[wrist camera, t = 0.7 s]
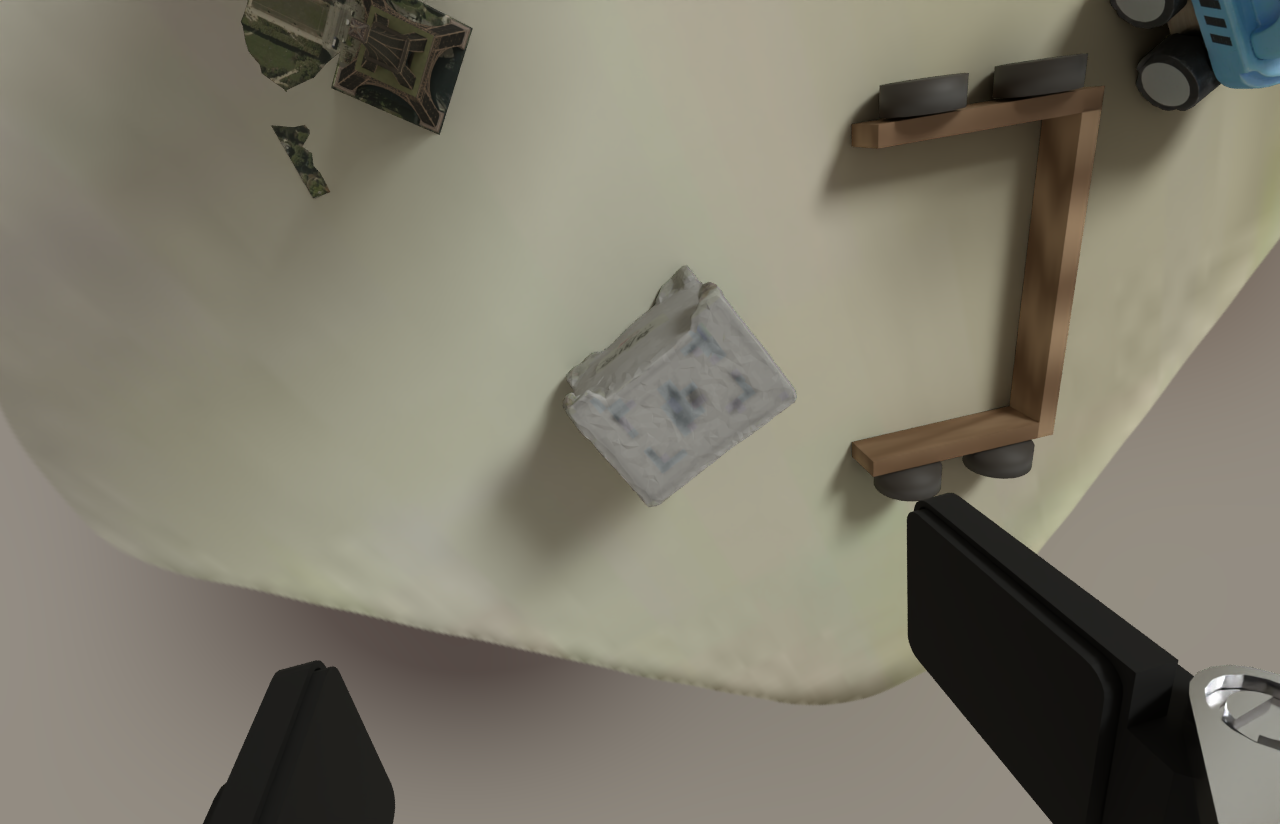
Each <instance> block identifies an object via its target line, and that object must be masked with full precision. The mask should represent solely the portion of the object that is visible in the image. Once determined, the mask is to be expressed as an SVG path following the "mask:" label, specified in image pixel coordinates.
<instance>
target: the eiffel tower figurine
mask: <svg viewBox="0 0 1280 824" xmlns="http://www.w3.org/2000/svg"><path fill="white" fill-rule="evenodd" d="M241 23H242V25H243V29H244V35H245V41H246V45H247V48H248V51H249V52H250V54H251V55H252V56H253V57H254V58H255V60H256V61H257V62H258V63H259V64H260V67H261V72H262V74H264V75H265V76H266V77H268V78H269V79H271V80H272V81H273V82H275V83H276V84H278V85H279V86H280V87H282V88H283V89H285V91H286V92H287V90H288V89H290V88H292V87H294V86H296V85H298V84H300V83H303V82H305V81H307V80H309V79H311V78H314V77H315V75H316V74H317V73H318V72H319V71H320V70H321V69H322V68H323V66H324V65H325V64H326V63H327V62H328V61H330V60H331V59H332V58H333V57H334V56H336V55H337V54H339V53H340V56H339V60H338V64H337V68H336V72H335V76H334V79H333V83H332V87H331V88H333V89H335V90H338V91H340V92H342V93H345V94H347V95H349V96H351V97H354V98H356V99H358V100H361V101H363V102H365V103H368V104H370V105H372V106H374V107H377V108H379V109H381V110H384V111H386V112H388V113H390V114H393V115H395V116H397V117H400V118H402V119H404V120H407V121H409V122H411V123H413V124H416V125H418V126H420V127H423V128H425V129H427V130H430V131H432V132H434V133H436V134H439V135H440V132H441V128H442V125H443V122H444V119H445V115H446V112H447V109H448V106H449V103H450V99H451V96H452V93H453V90H454V87H455V83H456V80H457V77H458V74H459V70H460V67H461V64H462V61H463V58H464V54H465V51H466V48H467V45H468V42H469V38H470V35H471V32H472V29H473V28H471V27H469V26H467V25H465V24H463V23H461V22H459V21H457V20H455V19H453V18H451V17H449V16H447V15H445V14H443V13H442V12H440V11H438V10H436V9H434V8H432V7H430V6H428V5H426V4H424V3H422V2H420V1H418V0H248V3H247V6H246V9H245V12H244V15H243V18H242V20H241ZM271 126H272V125H271ZM272 128H273V130H274V131H275V133H276V135H277V136H278V138H279V140H280V142H281V143H282V145H283V147H284V148H285V150H286V152H287V153H288V155H289V157H290V159H291V160H292V162H293V164H294V166H295V167H296V169H297V171H298V172H299V174H300V176H301V178H302V179H303V181H304V183H305V185H306V186H307V188H308V190H309V192H310V193H311V195H312V197H313V198H315V197H317V196H320V195H323V194H326V193H329V192H330V191H329V189H328V187H327V185H326V183H325V181H324V179H323V177H322V175H321V174H320V172H319V171H318V170H317V169H316V168H315V167H314V166H313V158H312V153H311V152H309V151H308V150H306V149H305V148H303V147H302V146H303V145H304V143H305V141H306V139H307V138H308V136H309V134H310V132H309V129H308V128H307V127H306V126H305V125H303V126H298V127H283V126H272Z"/></svg>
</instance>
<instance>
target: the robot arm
mask: <svg viewBox="0 0 1280 824" xmlns="http://www.w3.org/2000/svg"><path fill="white" fill-rule="evenodd" d="M907 596H908V640H909V643H910V646H911V649H912V651H913V653H914V655H915V656H916V658H917V659H918V660H919V662H920V663H921V664H922V665H923V666H924V668H925V669H926V670H927V671H928V672H929V674H930V675H931V676H932V677H933V679H935V681H936V682H937V683H938V685H939V686H940V687H941V688H942V690H943V691H944V692H945V693H946V694H947V696H948V697H949V698H950V699H951V700H952V702H953V703H954V704H955V705H956V707H957V708H958V709H959V710H960V711H961V713H962V714H963V715H964V716H965V717H966V719H967V720H968V721H969V722H970V724H971V725H972V726H973V727H974V728H975V729H976V731H977V732H978V733H979V734H980V735H981V737H982V738H983V739H984V741H985V742H986V743H987V744H988V745H989V746H990V748H991V749H992V750H993V751H994V752H995V754H996V755H997V756H998V757H999V759H1000V760H1001V761H1002V762H1003V764H1004V765H1005V766H1006V767H1007V768H1008V770H1009V771H1010V772H1011V773H1012V774H1013V776H1014V777H1015V778H1016V779H1017V780H1018V782H1019V783H1020V784H1021V785H1022V787H1023V788H1024V789H1025V790H1026V791H1027V793H1028V794H1029V795H1030V796H1031V798H1032V799H1033V800H1034V801H1035V802H1036V804H1037V805H1038V806H1039V807H1040V808H1041V810H1042V811H1043V812H1044V813H1045V814H1046V816H1047V817H1048V818H1049V819H1050V821H1051V822H1052V823H1053V824H1280V675H1279V674H1276V673H1272V672H1268V671H1265V670H1261V669H1257V668H1253V667H1245V666H1236V665H1224V666H1213V667H1209V668H1207V669H1204V670H1202V671H1200V672H1197V674H1196V675H1195V676H1193V675H1191V674H1190V673H1189V672H1188V671H1186V670H1185V669H1184V668H1182V667H1181V666H1180V665H1178V659H1176V658H1175V657H1174V656H1172V655H1171V654H1169V653H1168V652H1167V651H1165V650H1164V649H1163V648H1161V647H1160V646H1158V645H1157V644H1156V643H1155V642H1153V641H1152V640H1151V639H1149V638H1148V637H1147V636H1145V635H1144V634H1143V633H1141V632H1140V631H1139V630H1137V629H1136V628H1135V627H1133V626H1132V625H1131V624H1129V623H1128V622H1127V621H1125V620H1124V619H1123V618H1121V617H1120V616H1119V615H1117V614H1116V613H1115V612H1113V611H1112V610H1110V609H1109V608H1108V607H1107V606H1105V605H1104V604H1103V603H1101V602H1100V601H1099V600H1097V599H1096V598H1094V597H1093V596H1092V595H1090V594H1089V593H1088V592H1086V591H1085V590H1084V589H1082V588H1081V587H1080V586H1078V585H1077V584H1076V583H1074V582H1073V581H1072V580H1070V579H1069V578H1068V577H1066V576H1065V575H1063V574H1062V573H1061V572H1060V571H1058V570H1057V569H1055V568H1054V567H1053V566H1052V565H1050V564H1049V563H1048V562H1046V561H1045V560H1044V559H1042V558H1041V557H1039V556H1038V555H1037V554H1036V553H1034V552H1033V551H1032V550H1030V549H1029V548H1028V547H1026V546H1025V545H1024V544H1022V543H1021V542H1020V541H1018V540H1017V539H1016V538H1014V537H1013V536H1012V535H1010V534H1009V533H1007V532H1006V531H1005V530H1003V529H1002V528H1001V527H999V526H998V525H997V524H995V523H994V522H993V521H991V520H990V519H989V518H987V517H986V516H985V515H983V514H982V513H981V512H979V511H978V510H977V509H975V508H974V507H973V506H971V505H970V504H969V503H967V502H966V501H965V500H963V499H962V498H961V497H959V496H958V495H956V494H954V493H946V494H943V495H939V496H935V497H931V498H928V499H924V500H920V501H918V502H917V503H916V505H915V507H914V511H913V512H910V513H909V514H908V516H907ZM394 813H395V797H394V791H393V788H392V785H391V783H390V780H389V778H388V776H387V774H386V772H385V769H384V767H383V765H382V763H381V761H380V759H379V756H378V754H377V752H376V750H375V748H374V746H373V744H372V741H371V739H370V737H369V735H368V733H367V731H366V729H365V726H364V724H363V722H362V720H361V718H360V715H359V713H358V711H357V709H356V707H355V705H354V703H353V700H352V698H351V696H350V694H349V692H348V690H347V687H346V685H345V683H344V681H343V679H342V677H341V674H340V673H339V671H338V669H337V668H336V667H328V668H326V666H325V665H324V664H323V663H322V662H321V661H313V662H309V663H305V664H301V665H297V666H294V667H290V668H286V669H282V670H279V671H278V672H276V673H275V675H274V676H273V678H272V680H271V682H270V685H269V687H268V689H267V692H266V694H265V696H264V699H263V701H262V703H261V705H260V707H259V710H258V712H257V714H256V717H255V719H254V721H253V724H252V726H251V728H250V730H249V733H248V735H247V737H246V739H245V742H244V744H243V746H242V749H241V751H240V753H239V755H238V758H237V760H236V762H235V764H234V767H233V769H232V771H231V774H230V776H229V778H228V780H227V782H226V783H225V784H224V785H223V786H222V787H221V788H220V790H219V792H218V793H217V795H216V797H215V798H214V800H213V803H212V805H211V807H210V809H209V811H208V814H207V816H206V818H205V820H204V823H203V824H393V819H394Z"/></svg>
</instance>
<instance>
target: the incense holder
mask: <svg viewBox="0 0 1280 824" xmlns="http://www.w3.org/2000/svg"><path fill="white" fill-rule="evenodd" d="M566 377H567V381H568V382H569V384H570V386H571V387H572V389H573V391H574V393H569V394H567V395H566V397H565V399H564V400H563V408H564V409H565V411H566V413H567V415H568V416H569V418H570V419H571V420H572V421H573V423H574V424H575V425H576V427H577V428H578V429H579V431H580V432H581V433H582V435H583V436H584V437H585V438H587V439H589V440H590V441H591V442H592V444H593V445H594V446H595V447H596V448H597V450H598V451H599V453H600V454H601V455H602V456H603V457H604V458H605V459H606V460H607V461H608V462H609V463H610V464H611V465H612V466H613V467H614V468H615V469H616V470H617V471H618V472H619V474H620V475H621V476H622V477H623V478H624V480H625V481H626V482H627V483H628V484H629V485H630V486H631V488H632V489H633V490H634V491H636V493H637V494H638V495H639V497H640V498H641V499H642V501H643V502H644V503H645V504H646V505H647V506H648V507H652V506H657V505H659V504H661V503H662V502H664V501H665V500H666V499H668V498H669V497H670V496H671V495H672V494H673V493H675V492H676V491H677V490H679V489H680V488H681V487H683V486H684V485H685V484H687V483H688V482H689V481H690V480H691V479H693V478H694V477H695V476H697V475H698V474H699V473H700V472H702V471H703V470H704V469H705V468H706V467H708V466H709V465H711V464H712V463H714V462H715V461H716V460H717V459H718V458H719V457H721V456H722V455H723V454H724V453H726V452H727V451H728V450H730V449H731V448H732V447H734V446H735V445H737V444H738V443H740V442H741V441H743V440H744V439H746V438H747V437H749V436H750V435H751V434H753V433H754V432H755V431H757V430H758V429H760V428H761V427H762V426H764V425H765V424H766V423H768V422H769V421H770V420H771V419H772V418H773V417H775V416H776V415H778V414H779V413H781V412H782V411H783V410H785V409H786V408H787V407H789V406H790V405H791V404H793V403H794V402H795V400H796V398H797V395H796V390H795V389H794V387H793V386H792V384H791V383H790V381H789V380H788V379H787V377H786V376H785V375H784V373H783V372H782V371H781V369H780V368H779V367H778V365H777V364H776V363H775V362H774V360H773V359H772V357H771V356H770V354H769V353H768V352H767V350H766V349H765V348H764V347H763V345H762V344H761V343H760V342H759V340H758V339H757V338H756V337H755V335H754V334H753V333H752V332H751V331H750V329H749V328H748V326H747V325H746V323H745V322H744V321H743V320H742V319H741V318H740V316H739V315H738V314H737V313H736V311H735V310H734V308H733V307H732V306H731V305H730V303H729V302H728V301H727V299H726V298H725V297H724V295H723V292H722V290H721V289H720V288H719V287H718V286H717V285H716V284H714V283H711V282H708V283H705V284H702V282H699V280H698V279H697V278H696V276H695V275H694V273H693V272H692V270H691V269H690V268H689V267H688V266H682V267H681V268H680V269H679V270H678V271H677V272H676V273H675V274H674V275H673V277H672V278H671V279H670V280H669V281H667V282H666V283H665V284H664V285H663V286H662V287H661V290H660V292H659V294H658V297H657V299H656V304H655V305H654V306H653V307H652V308H651V309H649V310H648V311H647V312H646V313H645V314H644V315H642V316H641V317H640V318H638V319H637V320H636V321H635V322H634V323H633V324H632V325H630V326H629V327H628V328H627V329H626V330H625V331H624V332H623V333H622V334H621V335H620V336H619V337H618V338H617V339H616V341H615V342H614V343H613V344H612V345H611V346H610V347H608V348H607V349H604V351H603V352H595V353H591V354H590V355H589V356H588V357H586V358H585V360H584V361H583V362H582V363H581V364H580V365H577V366H575V367H573V368H572V369H571V370H570V371H569V373H568V374H567V375H566Z"/></svg>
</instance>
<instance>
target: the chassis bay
mask: <svg viewBox="0 0 1280 824" xmlns="http://www.w3.org/2000/svg"><path fill="white" fill-rule="evenodd" d="M1087 58H1088V54H1076V55H1067V56H1060V57H1052V58H1045V59H1038V60H1031V61H1024V62H1018V63H1011V64H1006V65H1000V66H996V67H995V72H994V84H993V96H992V98H1002V99H997V100H991V101H985V102H979V103H973V104H967V91H968V76H969V73H960V74H951V75H943V76H935V77H928V78H921V79H914V80H908V81H901V82H895V83H890V84H885V85H880V97H879V118H885V119H879V120H873V121H867V122H861V123H856V124H852V146H853V147H865V148H884V147H890V146H896V145H901V144H907V143H913V142H918V141H924V140H930V139H935V138H941V137H947V136H953V135H958V134H964V133H970V132H975V131H981V130H987V129H992V128H998V127H1004V126H1009V125H1015V124H1021V123H1027V122H1032V121H1038V120H1042V125H1041V134H1040V143H1039V152H1038V160H1037V169H1036V178H1035V187H1034V195H1033V204H1032V213H1031V222H1030V230H1029V239H1028V248H1027V257H1026V265H1025V274H1024V283H1023V292H1022V300H1021V309H1020V318H1019V327H1018V335H1017V344H1016V353H1015V362H1014V370H1013V379H1012V388H1011V397H1010V405H1009V406H1007V407H1002V408H998V409H994V410H989V411H985V412H981V413H976V414H972V415H968V416H963V417H959V418H955V419H950V420H946V421H941V422H937V423H933V424H928V425H924V426H920V427H915V428H911V429H907V430H902V431H898V432H894V433H889V434H885V435H881V436H876V437H872V438H867V439H863V440H859V441H854V442H852V457H853V458H854V459H855V460H856V461H857V462H858V463H859V464H860V465H861V466H862V467H864V468H865V469H866V470H867V471H868V472H869V473H870V474H871V475H872V476H873V477H874V486H875V488H876V489H877V490H878V491H879V492H880V493H882V494H883V495H885V496H887V497H890V498H893V499H896V500H901V501H920V500H924V499H928V498H931V497H933V496H935V495H936V494H937V493H938V492H939V491H940V488H941V475H942V464H941V462H940V461H943V460H947V459H951V458H955V457H959V456H963V458H962V461H963V463H964V465H965V466H966V467H967V468H968V469H970V470H971V471H973V472H975V473H977V474H980V475H983V476H987V477H992V478H1003V479H1006V478H1016V477H1020V476H1023V475H1025V474H1027V473H1028V472H1029V471H1030V470H1031V468H1032V460H1033V453H1034V443H1033V441H1032V440H1031V439H1035V438H1040V437H1044V436H1048V435H1052V434H1053V430H1054V423H1055V417H1056V410H1057V403H1058V397H1059V390H1060V383H1061V376H1062V370H1063V363H1064V356H1065V350H1066V343H1067V336H1068V330H1069V323H1070V316H1071V310H1072V303H1073V296H1074V290H1075V283H1076V276H1077V269H1078V263H1079V256H1080V249H1081V243H1082V236H1083V229H1084V223H1085V216H1086V209H1087V203H1088V196H1089V189H1090V182H1091V176H1092V169H1093V162H1094V156H1095V149H1096V142H1097V136H1098V129H1099V122H1100V116H1101V109H1102V102H1103V95H1104V89H1105V86H1094V87H1084V80H1085V73H1086V66H1087Z"/></svg>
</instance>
